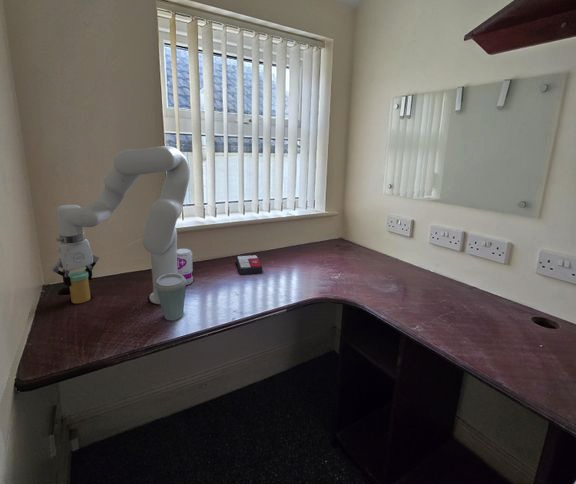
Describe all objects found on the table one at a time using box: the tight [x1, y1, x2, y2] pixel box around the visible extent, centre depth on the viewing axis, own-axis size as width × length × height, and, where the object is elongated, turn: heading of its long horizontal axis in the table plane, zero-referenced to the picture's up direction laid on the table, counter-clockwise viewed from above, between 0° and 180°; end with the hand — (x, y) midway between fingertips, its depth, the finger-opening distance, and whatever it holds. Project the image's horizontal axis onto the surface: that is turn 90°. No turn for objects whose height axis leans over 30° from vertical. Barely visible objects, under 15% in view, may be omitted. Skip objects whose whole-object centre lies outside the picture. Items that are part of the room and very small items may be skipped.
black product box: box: [236, 254, 263, 275], centre depth 162 cm, size 11×4×15 cm
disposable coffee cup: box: [155, 273, 187, 321], centre depth 114 cm, size 11×11×15 cm
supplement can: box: [177, 247, 194, 286], centre depth 141 cm, size 8×8×15 cm
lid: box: [68, 270, 89, 282], centre depth 122 cm, size 7×7×2 cm
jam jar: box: [68, 278, 92, 304], centre depth 123 cm, size 6×6×10 cm
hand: (78, 281), depth 122 cm, fingers closed on lid, 6 cm apart
